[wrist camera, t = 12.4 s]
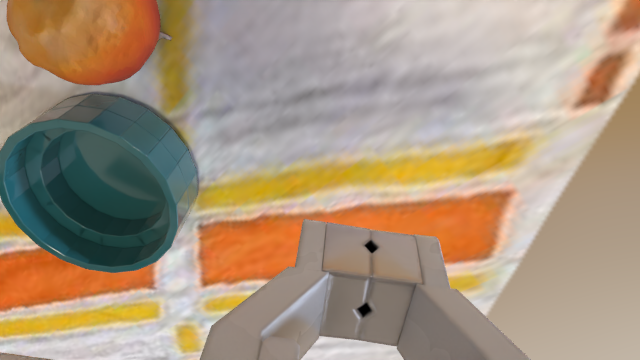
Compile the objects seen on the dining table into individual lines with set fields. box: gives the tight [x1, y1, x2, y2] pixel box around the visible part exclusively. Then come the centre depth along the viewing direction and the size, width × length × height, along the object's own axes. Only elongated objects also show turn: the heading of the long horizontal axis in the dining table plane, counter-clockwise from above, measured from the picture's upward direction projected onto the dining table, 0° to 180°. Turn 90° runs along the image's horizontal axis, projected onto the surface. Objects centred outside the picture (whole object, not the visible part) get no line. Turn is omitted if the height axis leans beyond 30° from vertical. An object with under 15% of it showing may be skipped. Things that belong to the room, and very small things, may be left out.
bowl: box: [0, 94, 198, 273], centre depth 33 cm, size 12×12×5 cm
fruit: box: [7, 0, 172, 85], centre depth 27 cm, size 8×8×8 cm
